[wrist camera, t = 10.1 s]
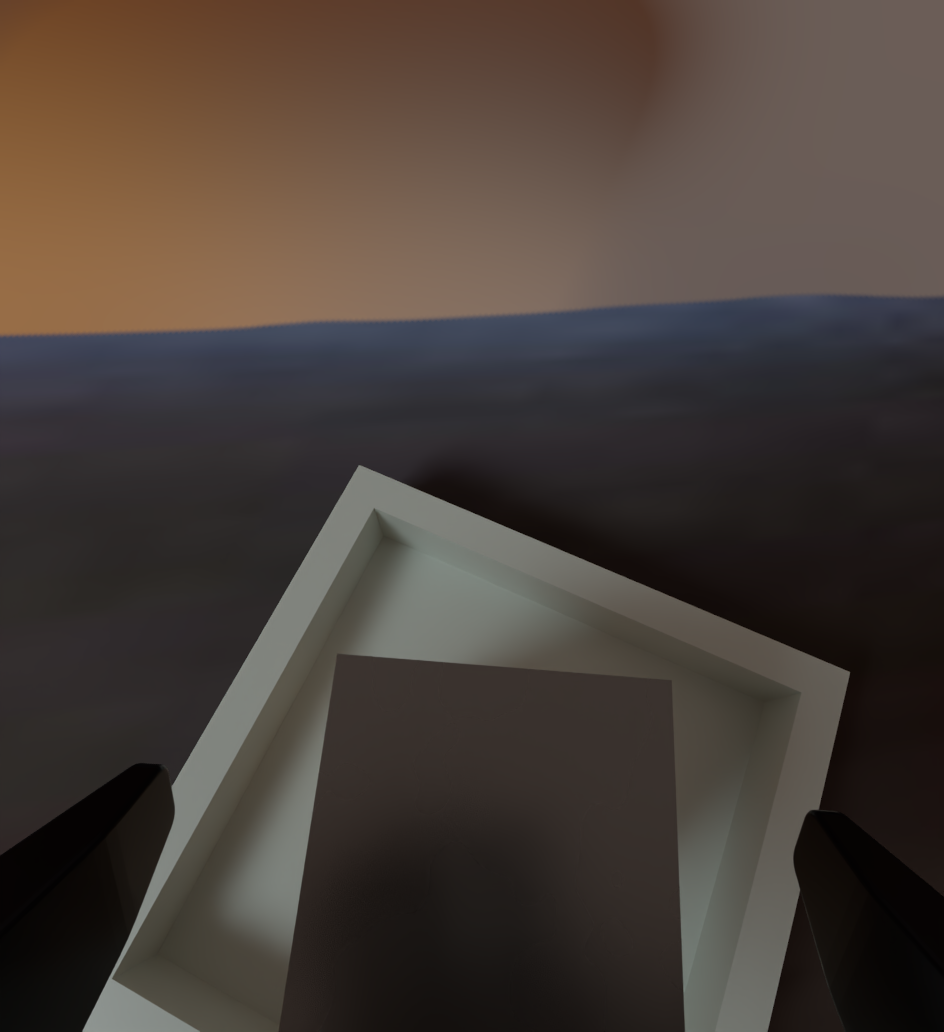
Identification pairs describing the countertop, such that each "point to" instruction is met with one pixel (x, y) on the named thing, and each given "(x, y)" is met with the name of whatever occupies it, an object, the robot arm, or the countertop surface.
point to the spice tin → (490, 855)
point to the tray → (492, 642)
